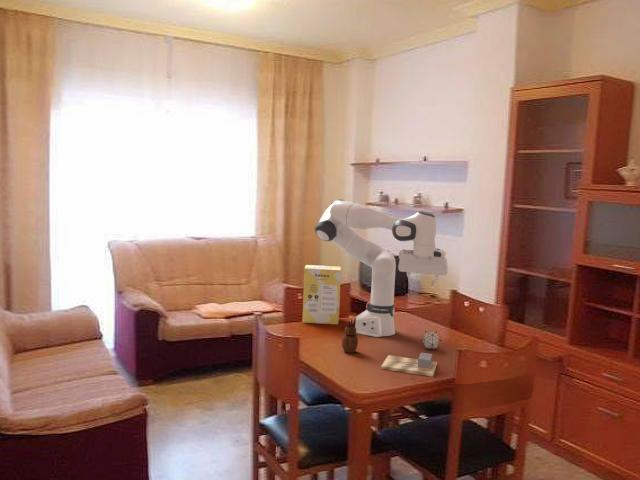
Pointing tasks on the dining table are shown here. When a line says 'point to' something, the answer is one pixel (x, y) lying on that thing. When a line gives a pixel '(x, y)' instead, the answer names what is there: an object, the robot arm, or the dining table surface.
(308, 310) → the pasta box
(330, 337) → the dining table surface
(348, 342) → the wooden figurine
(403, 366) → the board
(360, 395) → the dining table surface
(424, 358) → the sanding block
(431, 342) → the grey spiky ball
